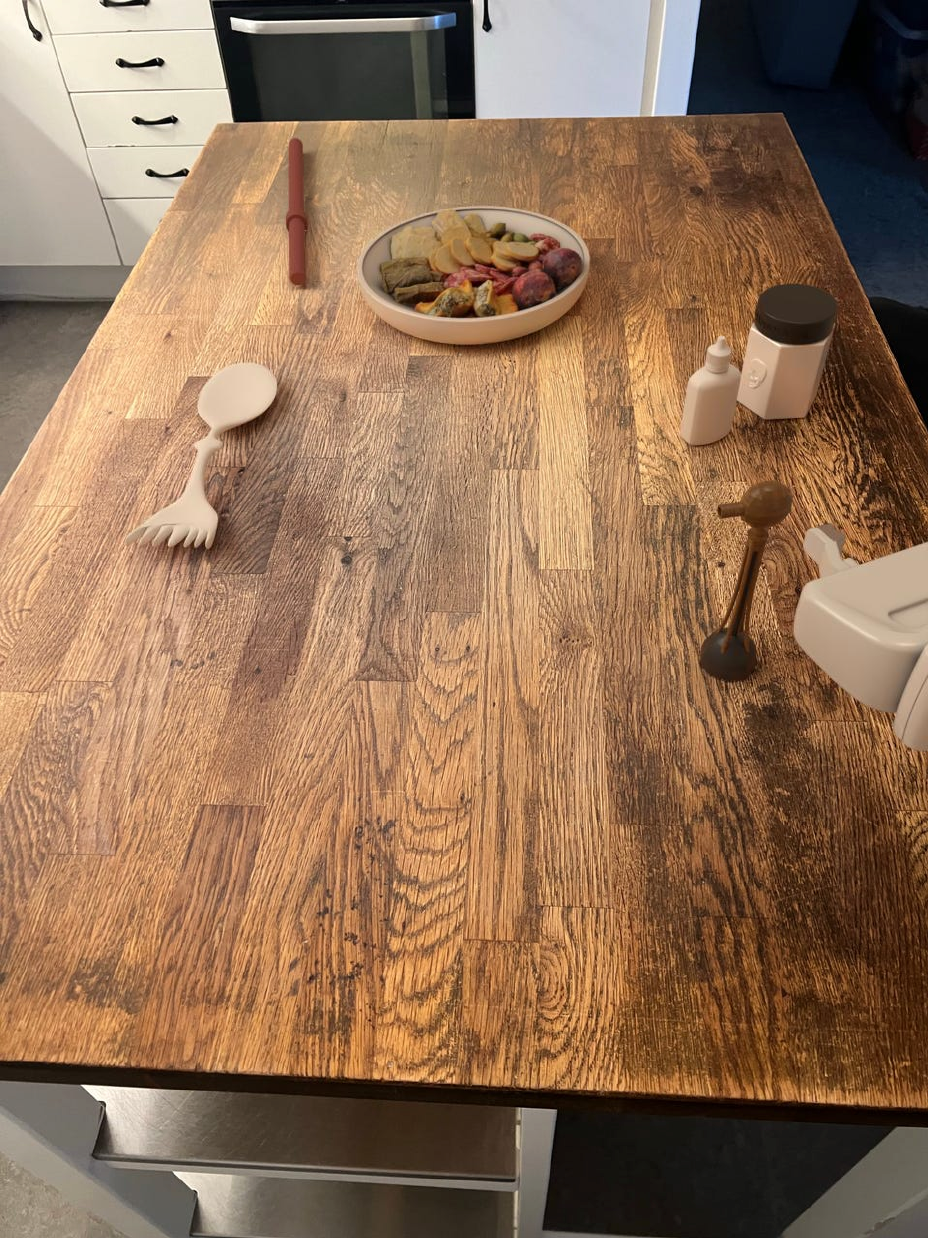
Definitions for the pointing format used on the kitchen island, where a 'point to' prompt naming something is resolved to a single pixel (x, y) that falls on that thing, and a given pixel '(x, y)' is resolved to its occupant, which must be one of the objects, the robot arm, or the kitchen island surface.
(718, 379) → the eye dropper bottle
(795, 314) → the jar
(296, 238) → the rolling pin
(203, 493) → the spoon
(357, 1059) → the kitchen island surface
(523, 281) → the bowl
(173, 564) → the kitchen island surface
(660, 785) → the kitchen island surface
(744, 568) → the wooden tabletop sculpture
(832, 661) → the robot arm
